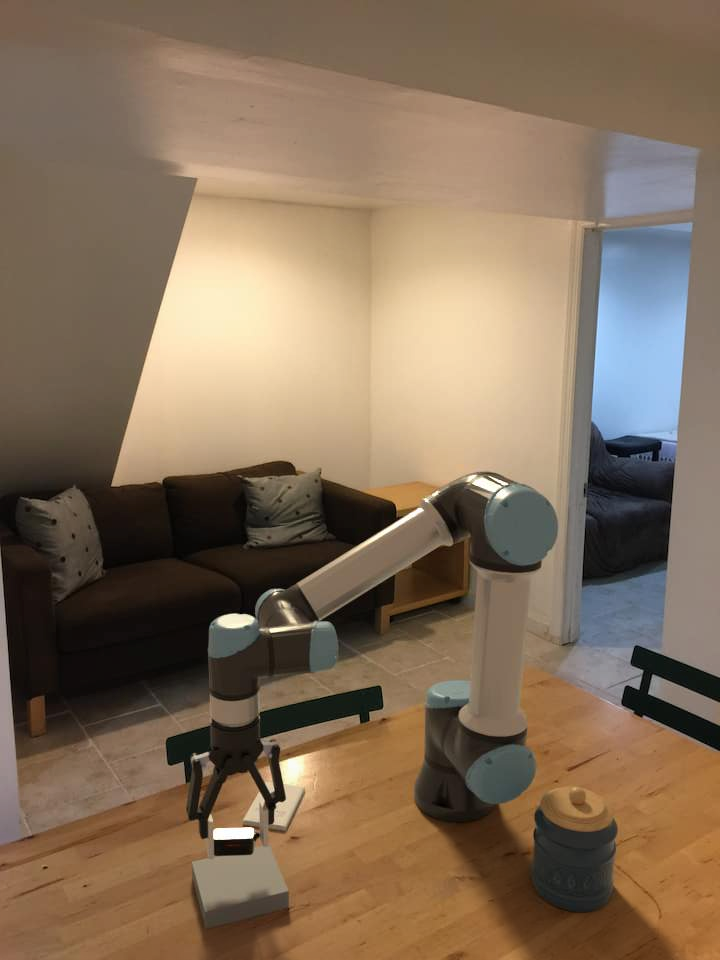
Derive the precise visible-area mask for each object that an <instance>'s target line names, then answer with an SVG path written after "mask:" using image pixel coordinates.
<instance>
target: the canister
mask: <svg viewBox="0 0 720 960" xmlns="http://www.w3.org/2000/svg"><path fill="white" fill-rule="evenodd" d="M533 819H534V823H535V827H534V829H533V834H532V836H533V846H532V847H533V849H532V850H533V851H532V861H531V863H530V864H531V865H530V874H531V875H530V876H531V880H532V886H533V888H534V889H535V891H536V892H537V894H538V895H539V897H541V898H542V899H543V900H545V901H546V902H547V903H549V904H551V905H552V906H555V907H557V908H558V909H562V910H565V911H569V912H577V913H585V912H587V913H588V912H592V911H596V910H598V909H601V908H603V907H604V906H605V905H606V904H608V902H609V900H610V898H611V895H612V893H613V888H614V883H615V882H614V866H615V865H614V864H615V855H616V851H617V844H616V841H615V839H616V838H617V836H618V833H619V832H618V831H619V826H618V823H617V821H616V819H615V817H614V810H613V808H612V806H611V804H609V803H608V801H607V800H605V798H603V797H601V796H600V795H598V794H596V792H593V791H591V790H589V789H586V788H583V787H580V786H563V787H558V788H554V789H551V790H550V791H548V792H546V793H545V794H543V796H542V797H541V799H540V804H539V805H538V806H537V807H536V809H535V810H534V816H533Z"/></svg>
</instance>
